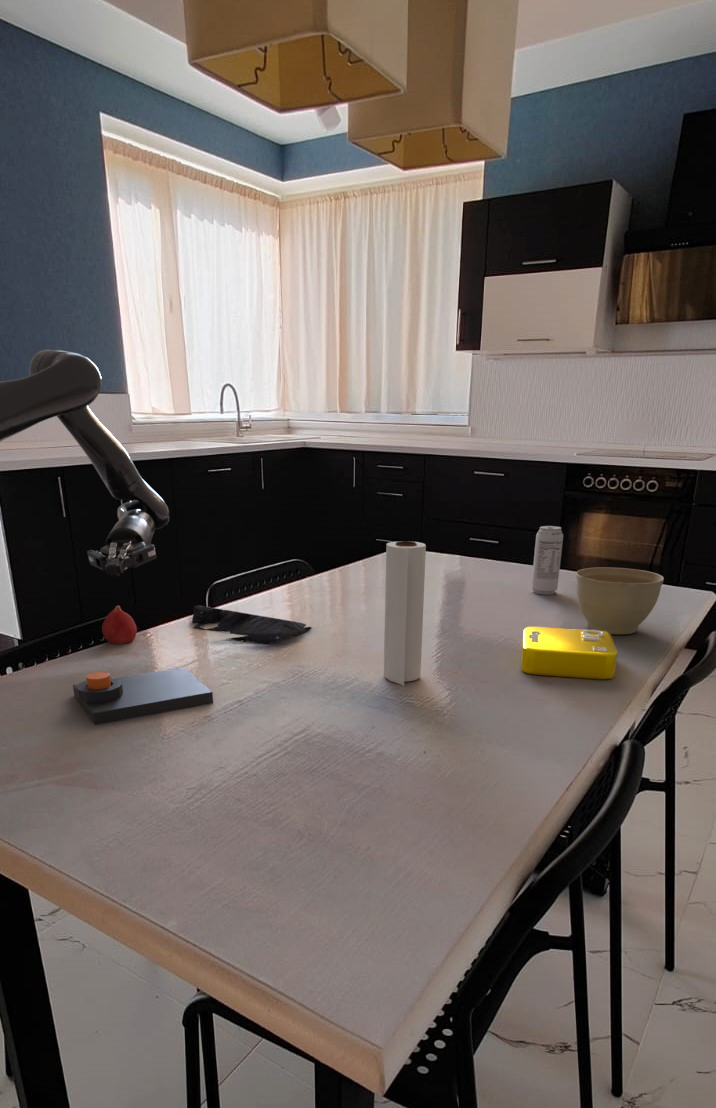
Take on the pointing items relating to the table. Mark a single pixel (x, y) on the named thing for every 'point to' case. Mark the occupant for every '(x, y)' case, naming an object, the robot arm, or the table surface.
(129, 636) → the onion
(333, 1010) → the table surface
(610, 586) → the planter bowl
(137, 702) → the scale
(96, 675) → the button
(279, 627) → the dark slate chunk
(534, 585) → the energy drink can
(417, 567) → the paper towel roll
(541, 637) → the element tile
